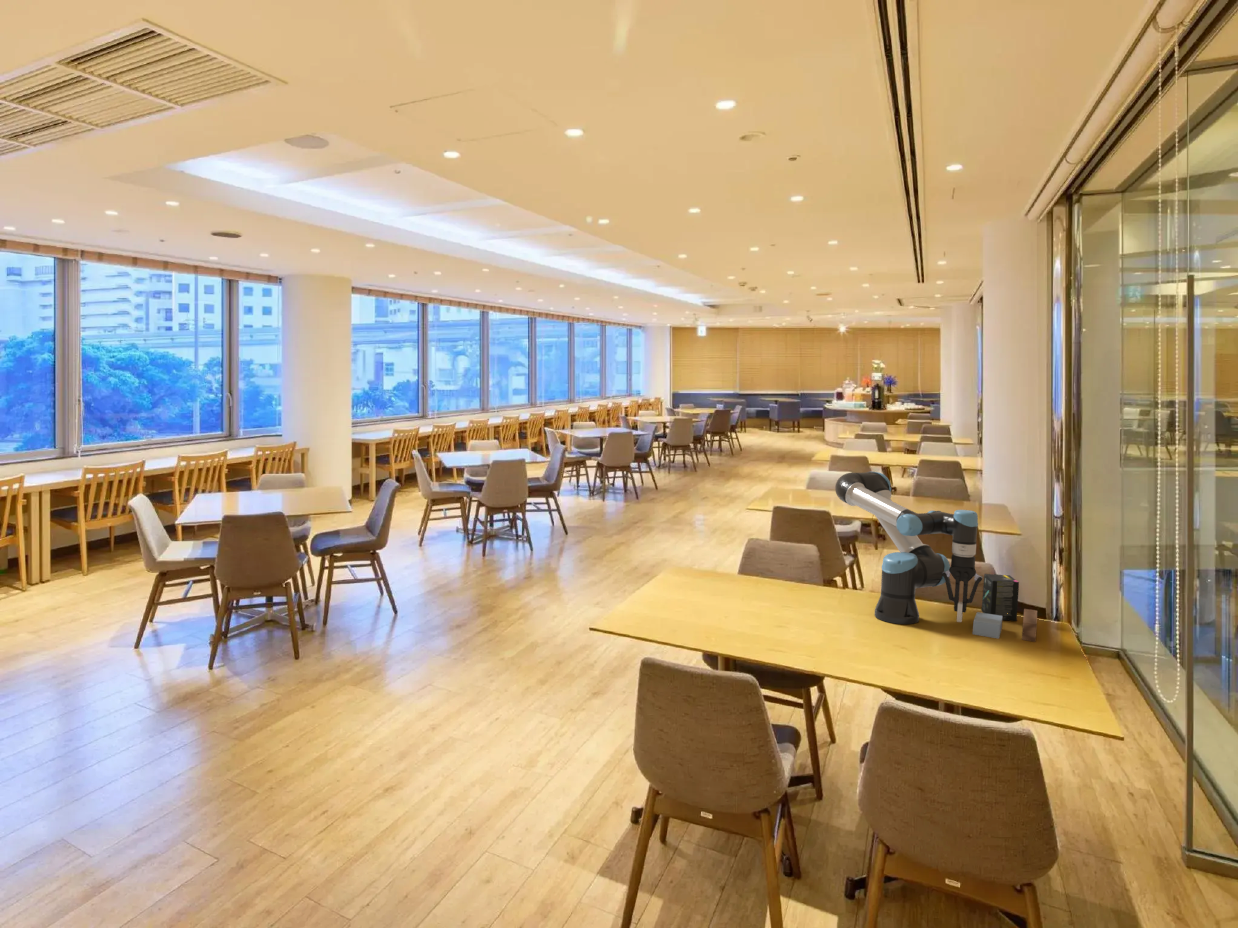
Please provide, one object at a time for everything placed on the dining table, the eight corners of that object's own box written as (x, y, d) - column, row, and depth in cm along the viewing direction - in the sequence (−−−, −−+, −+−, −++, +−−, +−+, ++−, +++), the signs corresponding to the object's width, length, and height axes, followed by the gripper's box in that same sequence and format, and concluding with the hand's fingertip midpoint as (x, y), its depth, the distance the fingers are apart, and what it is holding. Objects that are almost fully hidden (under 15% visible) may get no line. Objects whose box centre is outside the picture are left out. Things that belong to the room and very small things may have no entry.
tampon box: (1017, 621, 264) (1020, 581, 262) (989, 619, 266) (992, 580, 264) (1007, 612, 275) (1010, 574, 273) (981, 610, 276) (983, 572, 275)
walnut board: (1021, 639, 244) (1023, 622, 244) (1022, 625, 260) (1024, 608, 259) (1035, 641, 242) (1036, 624, 242) (1035, 627, 258) (1037, 610, 257)
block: (972, 634, 249) (973, 620, 248) (976, 625, 259) (977, 611, 259) (998, 639, 245) (999, 624, 244) (1001, 629, 255) (1002, 615, 255)
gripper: (941, 554, 254) (938, 620, 256) (983, 559, 247) (979, 626, 250) (944, 550, 260) (940, 615, 263) (985, 555, 254) (980, 621, 256)
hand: (959, 620), depth 256 cm, fingers closed
